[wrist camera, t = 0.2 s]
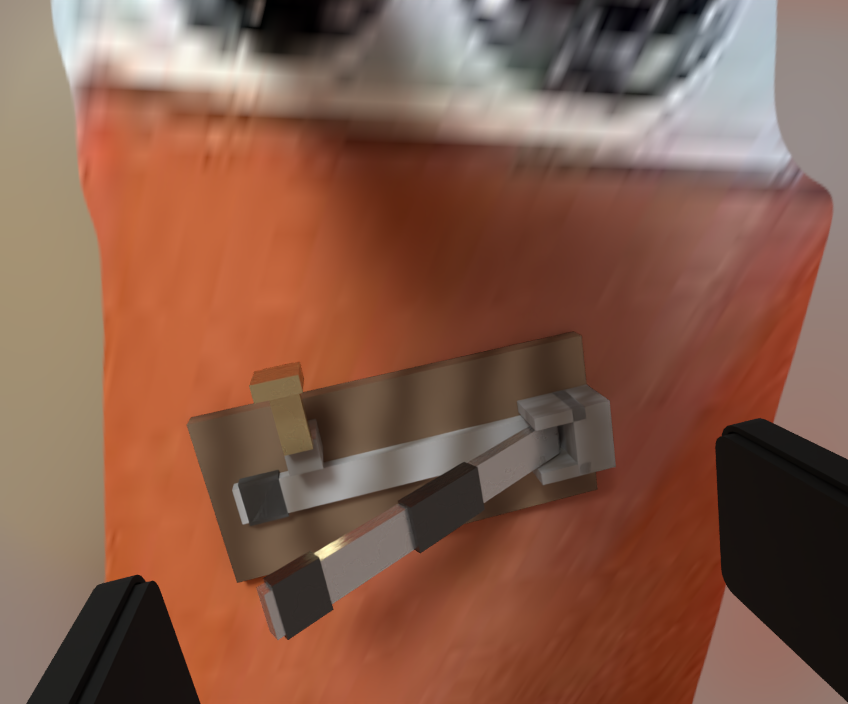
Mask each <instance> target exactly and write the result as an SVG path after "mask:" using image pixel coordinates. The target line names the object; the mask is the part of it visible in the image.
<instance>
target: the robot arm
mask: <svg viewBox="0 0 848 704" xmlns="http://www.w3.org/2000/svg"><path fill="white" fill-rule="evenodd" d="M715 449H716V469H717V490H718V510H719V531H720V552H721V570H722V575H723V578H724V581H725V583H726V585H727V587H728V588H729V590H730V591H731V592H732V593H733V594H734V595H735V596H736V597H737V598H738V599H739V600H740V601H741V602H742V603H743V604H744V605H745V606H746V607H747V608H748V609H749V610H751V611H752V612H753V613H754V614H755V615H756V616H757V617H758V618H759V619H760V620H761V621H762V622H763V623H764V624H766V626H767V627H769V628H770V629H771V630H772V631H773V632H774V633H775V634H776V635H777V636H778V637H779V638H780V639H781V640H782V641H783V642H784V643H785V644H787V645H788V646H789V647H790V648H791V649H792V650H793V651H794V652H795V653H796V654H797V655H798V656H799V657H800V658H801V659H802V660H803V661H805V662H806V663H807V664H808V665H809V666H810V667H811V668H812V669H813V670H814V671H815V672H816V673H817V674H818V675H819V676H820V677H821V678H822V679H824V680H825V681H826V682H827V683H828V684H829V685H830V686H831V687H832V688H833V689H834V690H835V691H836V692H837V693H838V694H839V695H840V696H842V697H843V698H844V699H845V700H846V701H847V702H848V460H847V459H846V458H844V457H842V456H839V455H837V454H835V453H833V452H831V451H829V450H827V449H825V448H823V447H821V446H819V445H817V444H815V443H813V442H811V441H809V440H806V439H804V438H802V437H800V436H798V435H796V434H794V433H792V432H790V431H788V430H786V429H784V428H782V427H780V426H778V425H776V424H773V423H771V422H769V421H767V420H765V419H761V418H758V419H753V420H749V421H745V422H741V423H737V424H733V425H729V426H727V427H726V428H725V429H724V430H723V433H722V436H721V437H719V438H718V439H717V441H716V447H715ZM27 704H200V701H199V698H198V695H197V693H196V690H195V687H194V684H193V681H192V678H191V676H190V673H189V670H188V667H187V664H186V662H185V659H184V656H183V653H182V650H181V648H180V645H179V642H178V639H177V636H176V633H175V631H174V628H173V625H172V622H171V619H170V617H169V614H168V611H167V608H166V605H165V603H164V600H163V597H162V594H161V591H160V589H159V587H158V585H157V583H156V582H154V581H150V582H145V580H144V579H143V577H142V576H140V575H134V576H130V577H126V578H122V579H118V580H114V581H110V582H106V583H102V584H99V585H97V586H96V588H95V589H94V590H93V592H92V593H91V595H90V597H89V598H88V600H87V602H86V603H85V605H84V607H83V609H82V610H81V612H80V614H79V616H78V617H77V619H76V620H75V622H74V624H73V626H72V628H71V629H70V631H69V632H68V634H67V636H66V638H65V639H64V641H63V642H62V644H61V646H60V648H59V649H58V651H57V653H56V654H55V656H54V658H53V659H52V661H51V663H50V665H49V666H48V668H47V670H46V671H45V673H44V675H43V676H42V678H41V680H40V682H39V683H38V685H37V687H36V688H35V690H34V692H33V693H32V695H31V697H30V698H29V700H28V702H27Z"/></svg>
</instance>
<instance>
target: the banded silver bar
mask: <svg viewBox="0 0 848 704" xmlns="http://www.w3.org/2000/svg"><path fill="white" fill-rule="evenodd" d="M560 452H561V450H560V442H559V434H558V426H555V427H551V428H547V429H542V430H538V431H535V430H534V429H533V428H532V426H531V425H529V426H528V427H526V428H524V429H523V430H521V431H519V432H518V433H516V434H514V435H513V436H511V437H509V438H508V439H506V440H504V441H503V442H501V443H499V444H497V445H496V446H494V447H492V448H491V449H489V450H487V451H486V452H484V453H482V454H481V455H479V456H477V457H476V458H474V459H472V460H470V461H469V462H467V463H466V462H462V463H461V464H459V465H457V466H456V467H454V468H452V469H451V470H449V471H447V472H445V473H444V474H442V475H440V476H439V477H437V478H435V479H434V480H432V481H430V482H428V483H427V484H425V485H423V486H422V487H420V488H418V489H417V490H415V491H413V492H412V493H410V494H408V495H406V496H405V497H403V498H401V499H400V500H398V504H396V505H395V506H393V507H391V508H390V509H388V510H386V511H385V512H383V513H381V514H379V515H378V516H376V517H374V518H373V519H371V520H369V521H368V522H366V523H364V524H363V525H361V526H359V527H358V528H356V529H354V530H352V531H351V532H349V533H347V534H346V535H344V536H342V537H341V538H339V539H337V540H336V541H334V542H332V543H331V544H329V545H327V546H325V547H324V548H322V549H320V550H319V551H317V552H315V553H313V552H311V551H309V552H307V553H305V554H303V555H302V556H300V557H298V558H297V559H295V560H293V561H292V562H290V563H288V564H286V565H285V566H283V567H281V568H280V569H278V570H276V571H274V572H273V573H271V574H269V575H268V576H266V577H264V578H263V579H264V582H265V583H263V584H261V585H260V586H258V587H256V588H257V591H258V595H259V598H260V601H261V604H262V608H263V611H264V614H265V617H266V621H267V624H268V627H269V630H270V632H271V633H272V634H273V636H274V637H275V638H276V639H277V640H279V639H280V638H282V637H283V636H285V637H286V639H287V640H289V639H290V638H292V637H293V636H295V635H296V634H298V633H299V632H301V631H302V630H304V629H305V628H307V627H308V626H310V625H311V624H313V623H314V622H316V621H317V620H319V619H320V618H322V617H323V616H324V615H326V614H327V613H329V612H330V611H332V610H333V606H332V604H333V603H334V602H336V601H338V600H339V599H341V598H342V597H344V596H345V595H347V594H348V593H350V592H351V591H353V590H354V589H356V588H357V587H359V586H360V585H362V584H363V583H365V582H366V581H368V580H369V579H371V578H372V577H374V576H375V575H377V574H378V573H380V572H381V571H383V570H384V569H386V568H387V567H389V566H390V565H392V564H393V563H395V562H396V561H398V560H399V559H401V558H402V557H404V556H405V555H407V554H408V553H410V552H411V551H413V550H416V551H417V552H419V553H422V552H423V551H424V550H426V549H427V548H429V547H430V546H432V545H433V544H435V543H436V542H438V541H439V540H441V539H442V538H444V537H445V536H447V535H448V534H450V533H451V532H453V531H454V530H456V529H457V528H459V527H460V526H462V525H463V524H464V523H466V522H467V521H469V520H470V519H472V518H473V517H475V516H476V515H478V514H479V513H481V512H482V511H484V510H485V508H484V503H485V502H486V501H488V500H489V499H491V498H492V497H494V496H495V495H497V494H498V493H500V492H502V491H503V490H505V489H506V488H508V487H509V486H511V485H512V484H514V483H515V482H517V481H518V480H520V479H521V478H523V477H524V476H526V475H527V474H529V473H530V472H532V471H533V470H535V469H536V468H538V467H539V466H541V465H542V464H544V463H545V462H547V461H548V460H550V459H551V458H553V457H554V456H556V455H557V454H559V453H560Z"/></svg>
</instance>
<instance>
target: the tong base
mask: <svg viewBox="0 0 848 704" xmlns="http://www.w3.org/2000/svg"><path fill="white" fill-rule="evenodd" d="M301 396H302V400H303V404H304V408H305V412H306V416H307V420H308V423H309V427H310V431H311V435H312V439H313V443H314V444H313V449H312V450H307V451H303V452H299V453H295V454H290V455H286V456H284V454H283V450H282V446H281V443H280V439H279V435H278V432H277V428H276V424H275V421H274V417H273V413H272V410H271V406H270V402H269V401H265V402H260V403H256V404H254V403H253V404H249V405H245V406H240V407H236V408H231V409H227V410H222V411H218V412H213V413H209V414H204V415H200V416H196V417H191V418H190V420H189V422H188V424H187V427H188V431H189V434H190V437H191V440H192V443H193V446H194V449H195V452H196V456H197V459H198V462H199V465H200V468H201V471H202V474H203V477H204V481H205V484H206V487H207V490H208V493H209V496H210V499H211V502H212V506H213V509H214V512H215V515H216V518H217V521H218V524H219V527H220V531H221V534H222V537H223V540H224V543H225V546H226V549H227V553H228V556H229V559H230V562H231V565H232V568H233V571H234V574H235V578H236V581H237V583H238V582H242V581H246V580H250V579H254V578H258V577H262V576H265V575H269V574H271V573H273V572H274V571H276V570H278V569H280V568H281V567H283V566H285V565H286V564H288V563H290V562H292V561H293V560H295V559H297V558H298V557H300V556H302V555H303V554H305V553H307V552H309V551H311V552H313V553H315V552H317V551H319V550H320V549H322V548H324V547H325V546H327V545H329V544H331V543H332V542H334V541H336V540H337V539H339V538H341V537H342V536H344V535H346V534H347V533H349V532H351V531H352V530H354V529H356V528H358V527H359V526H361V525H363V524H364V523H366V522H368V521H369V520H371V519H373V518H374V517H376V516H378V515H379V514H381V513H383V512H385V511H386V510H388V509H390V508H391V507H393V506H395V505H396V504H398V500H400V499H401V498H403V497H405V496H406V495H408V494H410V493H412V492H413V491H415V490H417V489H418V488H420V487H422V486H423V485H425V484H427V483H428V482H430V481H432V480H434V479H435V478H437V477H439V476H440V475H442V474H444V473H445V472H447V471H449V470H451V469H452V468H454V467H456V466H457V465H459V464H461V463H462V462H466V463H467V462H469V461H470V460H472V459H474V458H476V457H477V456H479V455H481V454H482V453H484V452H486V451H487V450H489V449H491V448H492V447H494V446H496V445H497V444H499V443H501V442H503V441H504V440H506V439H508V438H509V437H511V436H513V435H514V434H516V433H518V432H519V431H521V430H523V429H524V428H526V427H528V426H529V425H531V426H532V428H533V429H534V430H535V431H538V430H542V429H547V428H551V427H555V426H558V434H559V442H560V450H561V452H560V453H559V454H557V455H556V456H554V457H553V458H551V459H550V460H548V461H547V462H545V463H544V464H542V465H541V466H539V467H538V468H536V469H535V470H533V471H532V472H530V473H529V474H527V475H526V476H524V477H523V478H521V479H520V480H518V481H517V482H515V483H514V484H512V485H511V486H509V487H508V488H506V489H505V490H503V491H502V492H500V493H498V494H497V495H495V496H494V497H492V498H491V499H489V500H488V501H486V502H485V503H484V508H485V510H484V511H482V512H481V513H479V514H478V515H476V516H475V517H473V518H472V519H470V520H469V521H467V522H466V523H470V522H474V521H477V520H481V519H485V518H489V517H493V516H497V515H501V514H504V513H508V512H512V511H516V510H520V509H524V508H528V507H531V506H535V505H539V504H543V503H547V502H551V501H555V500H558V499H562V498H566V497H570V496H574V495H578V494H582V493H585V492H589V491H593V490H597V479H596V472H597V471H601V470H605V469H609V468H612V467H616V464H615V453H614V442H613V432H612V421H611V410H610V401H609V400H608V399H606V398H605V397H604V396H602V395H601V394H599V393H598V392H597V391H595V390H594V389H592V388H591V387H590V386H588V385H587V384H586V374H585V365H584V355H583V346H582V336H581V335H579V334H577V333H576V332H569V333H565V334H560V335H556V336H551V337H547V338H543V339H538V340H534V341H529V342H525V343H520V344H516V345H511V346H507V347H502V348H498V349H494V350H489V351H485V352H480V353H476V354H471V355H467V356H462V357H458V358H454V359H449V360H445V361H440V362H436V363H431V364H427V365H422V366H418V367H414V368H409V369H405V370H400V371H396V372H391V373H387V374H382V375H378V376H374V377H369V378H365V379H360V380H356V381H351V382H347V383H342V384H338V385H333V386H329V387H325V388H320V389H316V390H311V391H307V392H303V393H301ZM466 523H464V524H466Z"/></svg>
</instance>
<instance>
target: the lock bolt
mask: <svg viewBox="0 0 848 704" xmlns="http://www.w3.org/2000/svg"><path fill="white" fill-rule="evenodd" d="M303 386H304V376H303V372H302V368H301V364H300V362H296V363H289V364H284V365H280V366H275V367H270V368H266V369H263V370H259V371H254V374H253V377H252V379H251V382H250V385H249V387H250V390H251V394H252V398H253V401H254V404H256V403H260V402H265V401H269V402H270V406H271V410H272V413H273V417H274V421H275V424H276V428H277V432H278V435H279V439H280V443H281V446H282V450H283V454H284V456H286V455H290V454H295V453H299V452H303V451H307V450H312V449H313V444H314V443H313V439H312V435H311V431H310V427H309V423H308V420H307V416H306V412H305V408H304V404H303V400H302V396H301V393H303Z"/></svg>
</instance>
